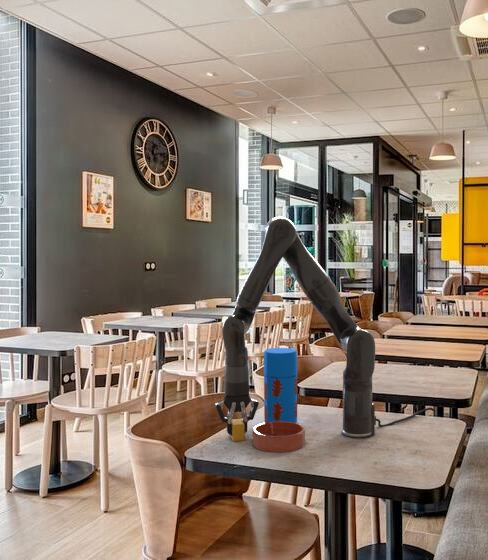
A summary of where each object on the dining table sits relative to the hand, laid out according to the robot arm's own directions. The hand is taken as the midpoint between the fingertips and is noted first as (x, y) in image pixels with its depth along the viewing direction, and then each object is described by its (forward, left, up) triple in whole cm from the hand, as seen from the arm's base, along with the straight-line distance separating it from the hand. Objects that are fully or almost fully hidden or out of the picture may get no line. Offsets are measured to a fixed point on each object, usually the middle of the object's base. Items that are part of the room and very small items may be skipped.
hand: (237, 433), depth 186 cm
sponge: (0, 0, -1) cm, 1 cm away
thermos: (-16, -8, -1) cm, 18 cm away
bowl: (-11, +9, -1) cm, 14 cm away
